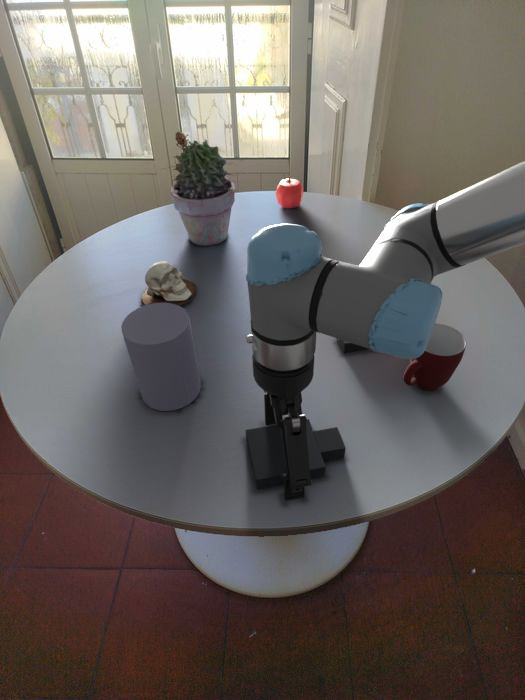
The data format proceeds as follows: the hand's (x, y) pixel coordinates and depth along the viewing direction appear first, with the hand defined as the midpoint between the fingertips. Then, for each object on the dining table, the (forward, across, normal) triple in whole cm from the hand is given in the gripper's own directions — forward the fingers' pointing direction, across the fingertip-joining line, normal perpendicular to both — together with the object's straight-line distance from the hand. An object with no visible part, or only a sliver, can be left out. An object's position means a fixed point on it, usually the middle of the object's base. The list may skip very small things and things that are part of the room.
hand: (283, 456), depth 70 cm
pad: (0, 0, +2) cm, 2 cm away
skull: (+1, -47, -15) cm, 49 cm away
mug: (0, -9, +27) cm, 28 cm away
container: (0, -18, -16) cm, 24 cm away
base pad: (0, -26, +22) cm, 34 cm away
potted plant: (+1, -71, -3) cm, 71 cm away
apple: (+1, -84, +21) cm, 87 cm away
